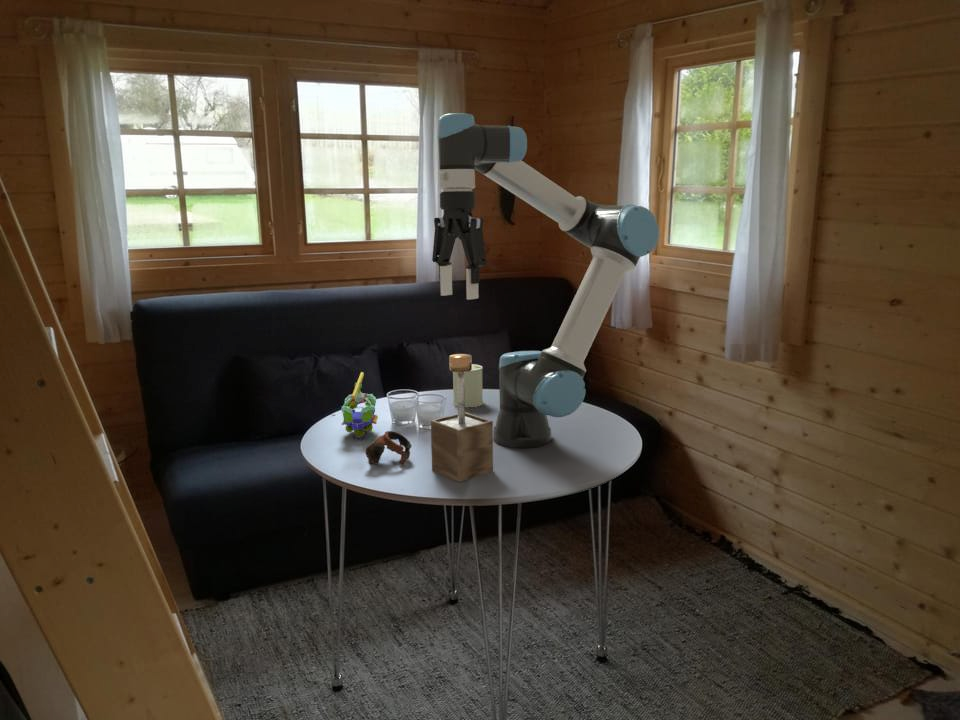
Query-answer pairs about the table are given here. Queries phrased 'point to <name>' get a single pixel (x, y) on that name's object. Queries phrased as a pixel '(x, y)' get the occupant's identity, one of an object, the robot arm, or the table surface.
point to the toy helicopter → (359, 419)
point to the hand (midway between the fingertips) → (459, 296)
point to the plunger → (460, 390)
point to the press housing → (462, 448)
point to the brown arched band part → (388, 447)
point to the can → (470, 387)
